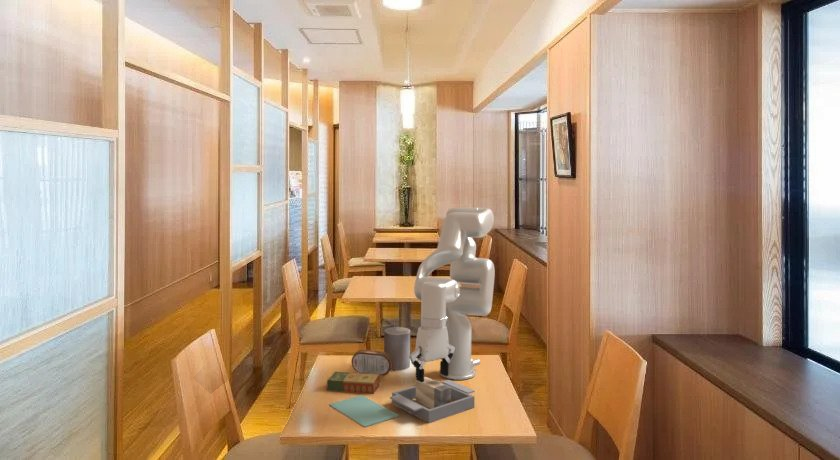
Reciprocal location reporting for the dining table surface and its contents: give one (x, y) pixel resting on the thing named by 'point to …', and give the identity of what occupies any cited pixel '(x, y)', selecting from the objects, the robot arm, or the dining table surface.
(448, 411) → the open square frame
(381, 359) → the tin
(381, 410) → the mat
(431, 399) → the block
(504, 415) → the dining table surface
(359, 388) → the carton
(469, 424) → the dining table surface
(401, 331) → the pillar candle
